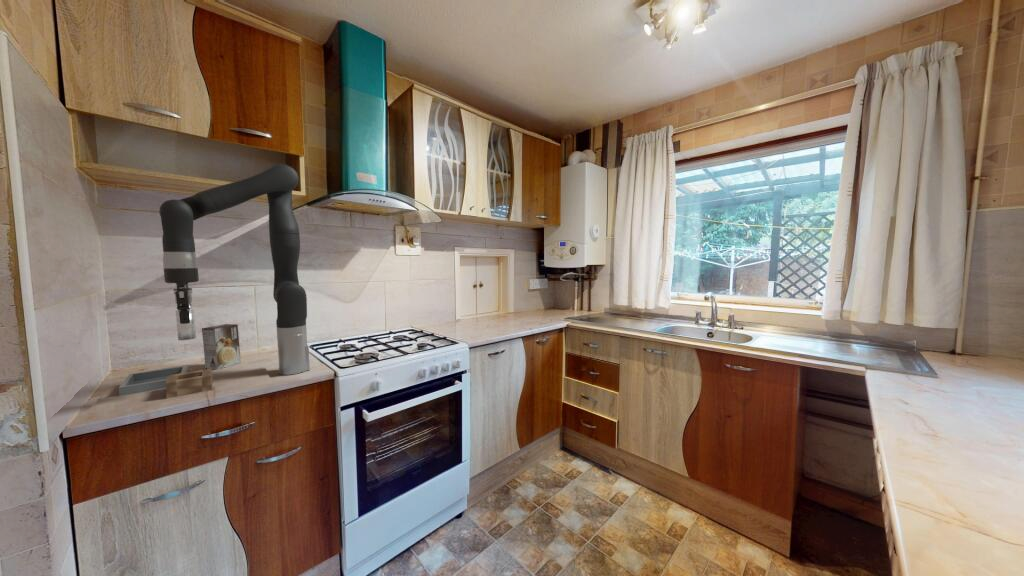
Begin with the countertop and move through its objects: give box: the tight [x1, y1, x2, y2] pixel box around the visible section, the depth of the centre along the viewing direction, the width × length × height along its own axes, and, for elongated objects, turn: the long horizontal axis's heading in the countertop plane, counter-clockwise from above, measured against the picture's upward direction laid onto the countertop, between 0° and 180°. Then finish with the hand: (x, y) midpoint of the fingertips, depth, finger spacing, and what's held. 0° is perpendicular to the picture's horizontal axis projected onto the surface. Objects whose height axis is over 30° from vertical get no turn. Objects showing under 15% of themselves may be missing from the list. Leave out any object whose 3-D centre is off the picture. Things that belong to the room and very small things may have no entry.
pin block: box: [165, 368, 214, 399], centre depth 106 cm, size 10×10×6 cm
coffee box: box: [201, 323, 242, 370], centre depth 133 cm, size 9×6×16 cm
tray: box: [118, 365, 189, 397], centre depth 112 cm, size 14×17×4 cm
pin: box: [175, 308, 197, 341], centre depth 105 cm, size 4×4×9 cm
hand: (185, 322), depth 105 cm, fingers closed on pin, 4 cm apart
